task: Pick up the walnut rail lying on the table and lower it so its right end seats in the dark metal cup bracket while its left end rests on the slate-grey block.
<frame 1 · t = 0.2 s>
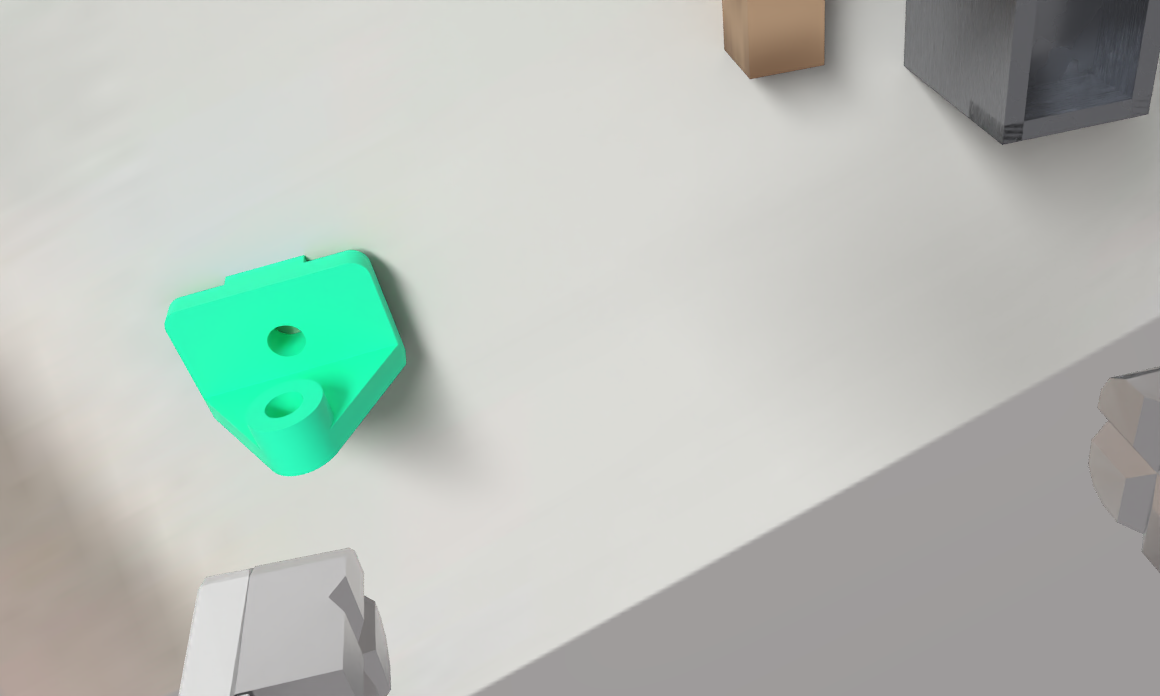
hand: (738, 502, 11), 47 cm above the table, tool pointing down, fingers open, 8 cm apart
camera mount: (289, 315, 63), on the table
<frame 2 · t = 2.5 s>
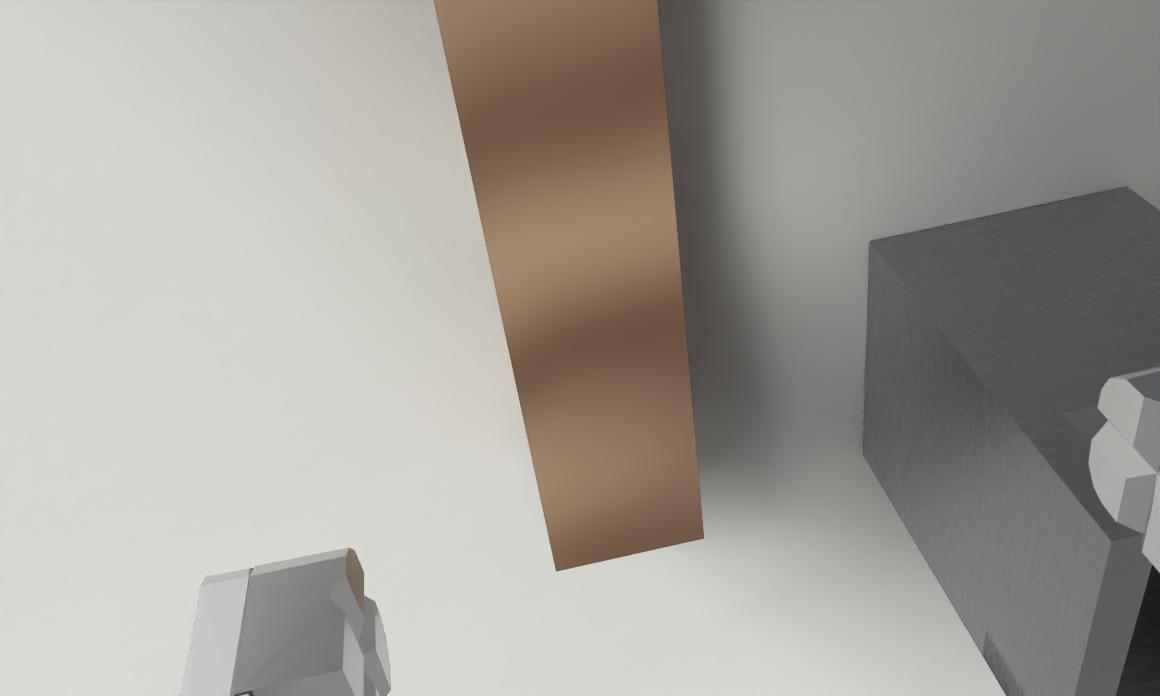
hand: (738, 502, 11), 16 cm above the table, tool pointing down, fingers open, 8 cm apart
cup bracket: (986, 329, 31), on the table
rail: (526, 8, 24), on the table
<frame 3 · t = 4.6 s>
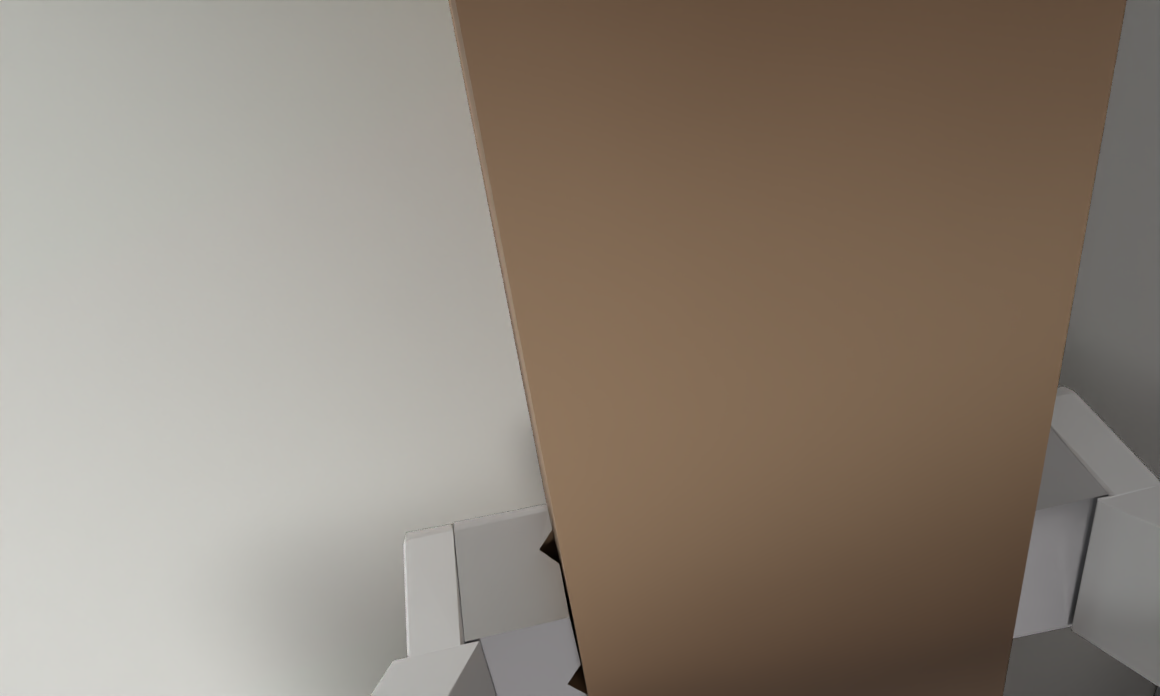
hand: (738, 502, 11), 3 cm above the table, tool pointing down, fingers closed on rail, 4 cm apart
rail: (674, 352, 14), on the table, touching gripper
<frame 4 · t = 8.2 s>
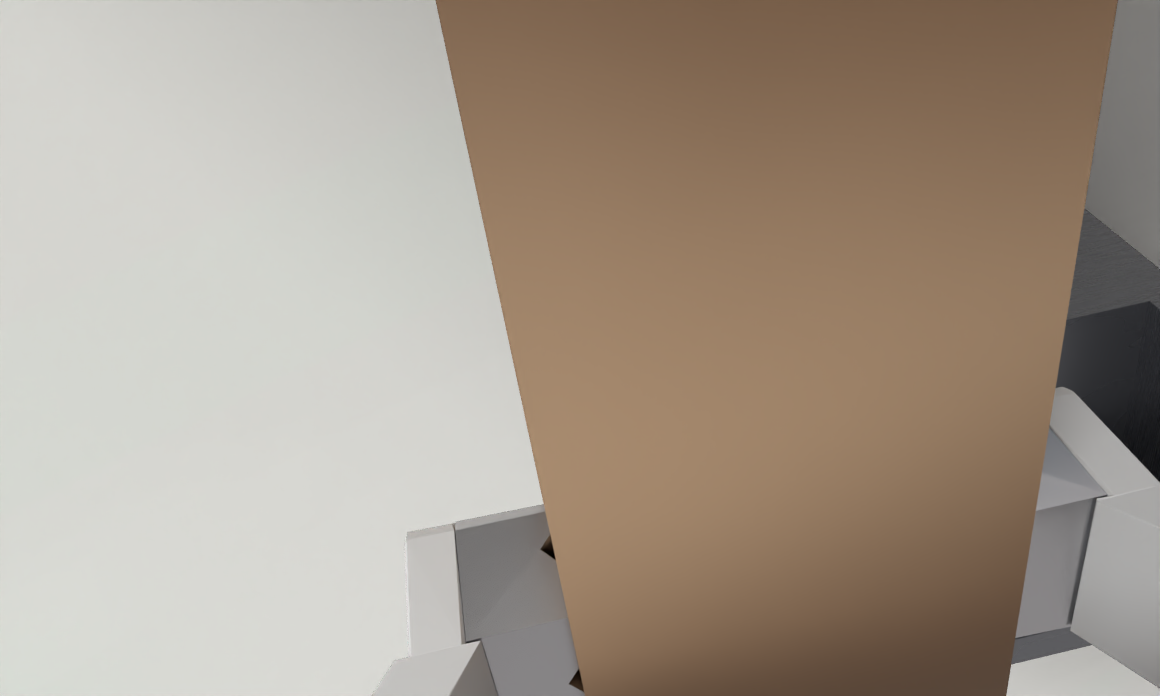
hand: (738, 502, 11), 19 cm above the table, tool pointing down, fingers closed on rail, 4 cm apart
cup bracket: (901, 292, 34), on the table
rail: (674, 361, 14), point 16 cm above the table, touching gripper
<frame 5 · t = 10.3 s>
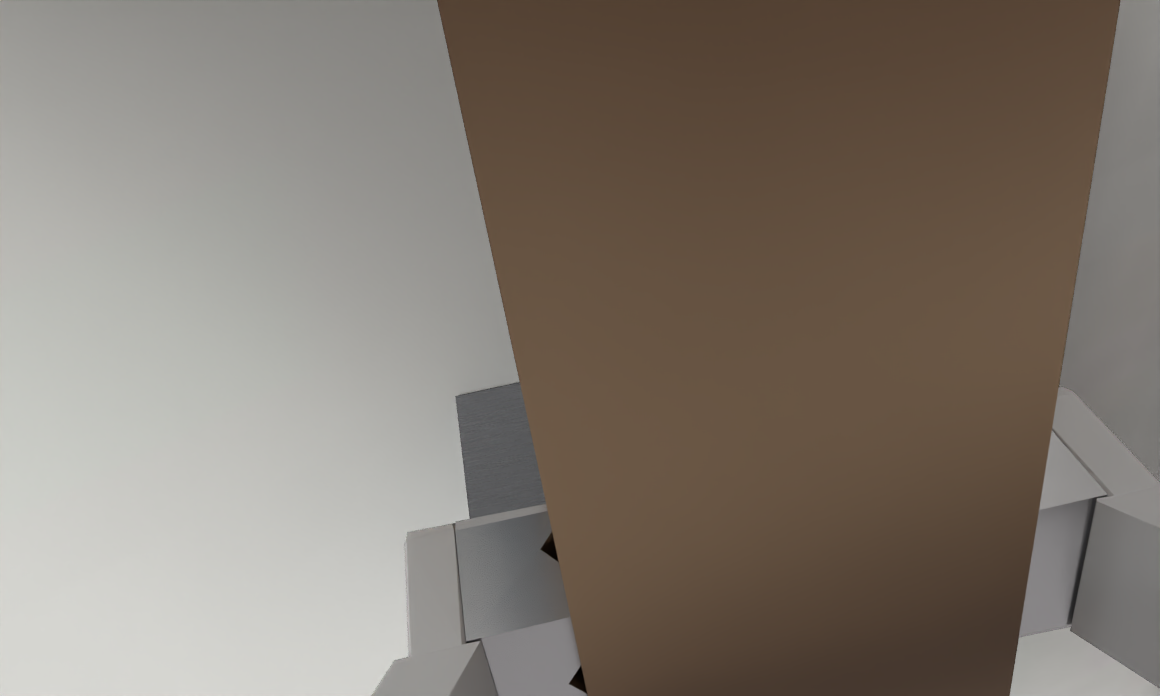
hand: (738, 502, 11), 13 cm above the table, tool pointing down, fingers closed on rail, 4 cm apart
cup bracket: (618, 479, 29), on the table
rail: (676, 363, 14), point 11 cm above the table, touching gripper
when the fingers open (12 cm above the table, at t = 11.8 s): rail stays where it is, resting on cup bracket, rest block.
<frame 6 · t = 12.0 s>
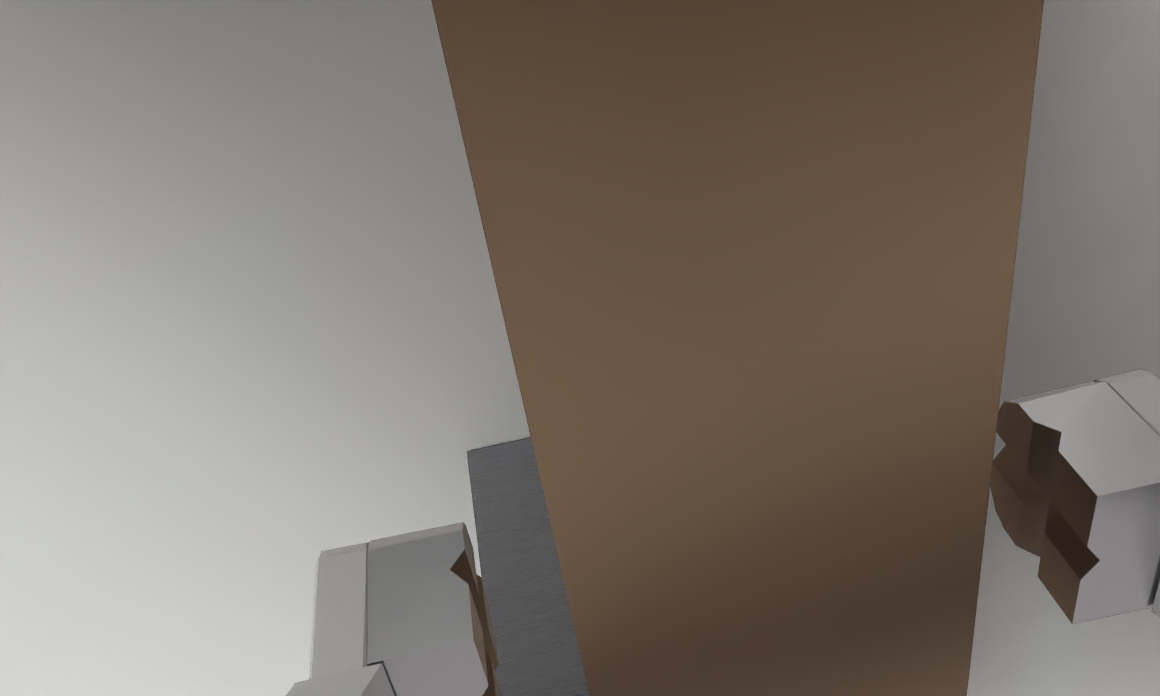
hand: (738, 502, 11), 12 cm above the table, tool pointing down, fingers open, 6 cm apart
cup bracket: (637, 534, 28), on the table
rail: (664, 330, 14), point 8 cm above the table, touching cup bracket, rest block
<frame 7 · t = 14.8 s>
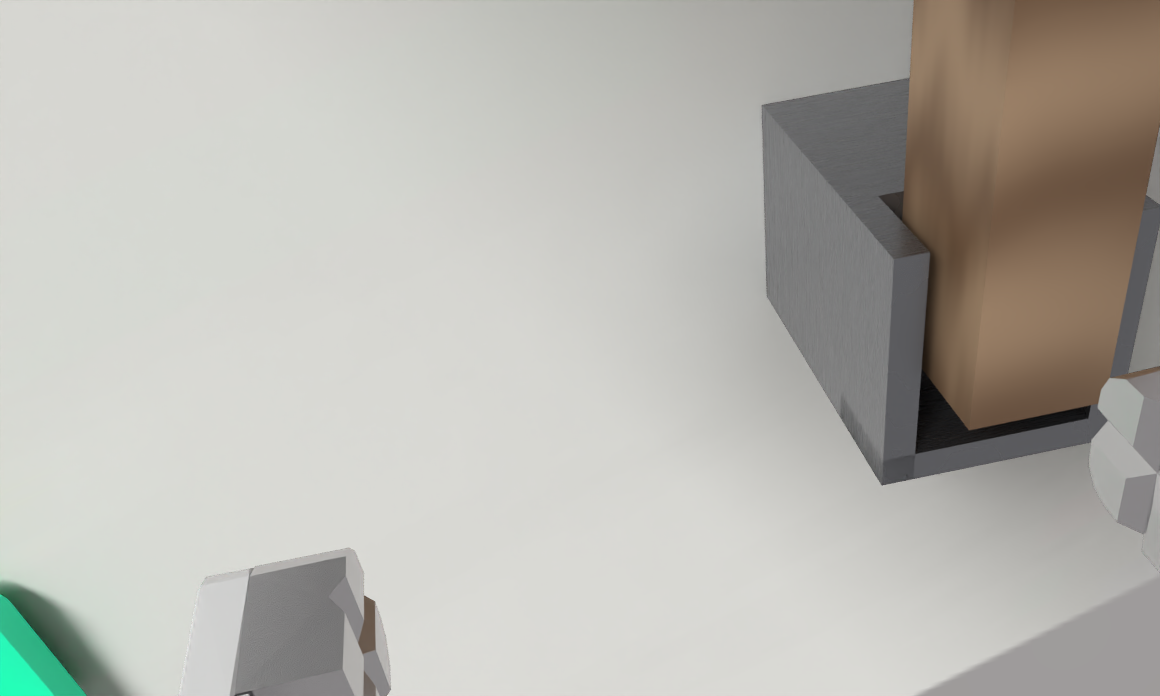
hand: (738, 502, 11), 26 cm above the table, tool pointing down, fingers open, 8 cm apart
cup bracket: (860, 188, 39), on the table
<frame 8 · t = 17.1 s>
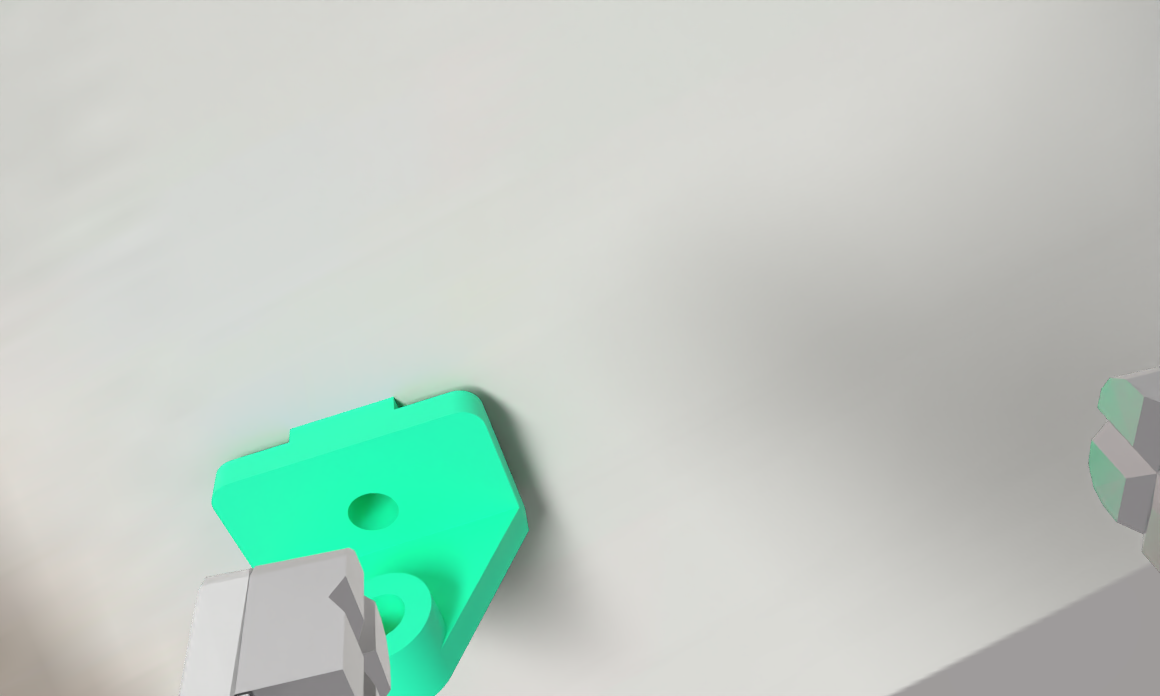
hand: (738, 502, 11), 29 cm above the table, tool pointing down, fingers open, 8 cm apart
camera mount: (373, 469, 48), on the table
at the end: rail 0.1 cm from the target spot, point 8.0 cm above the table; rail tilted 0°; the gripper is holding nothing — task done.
